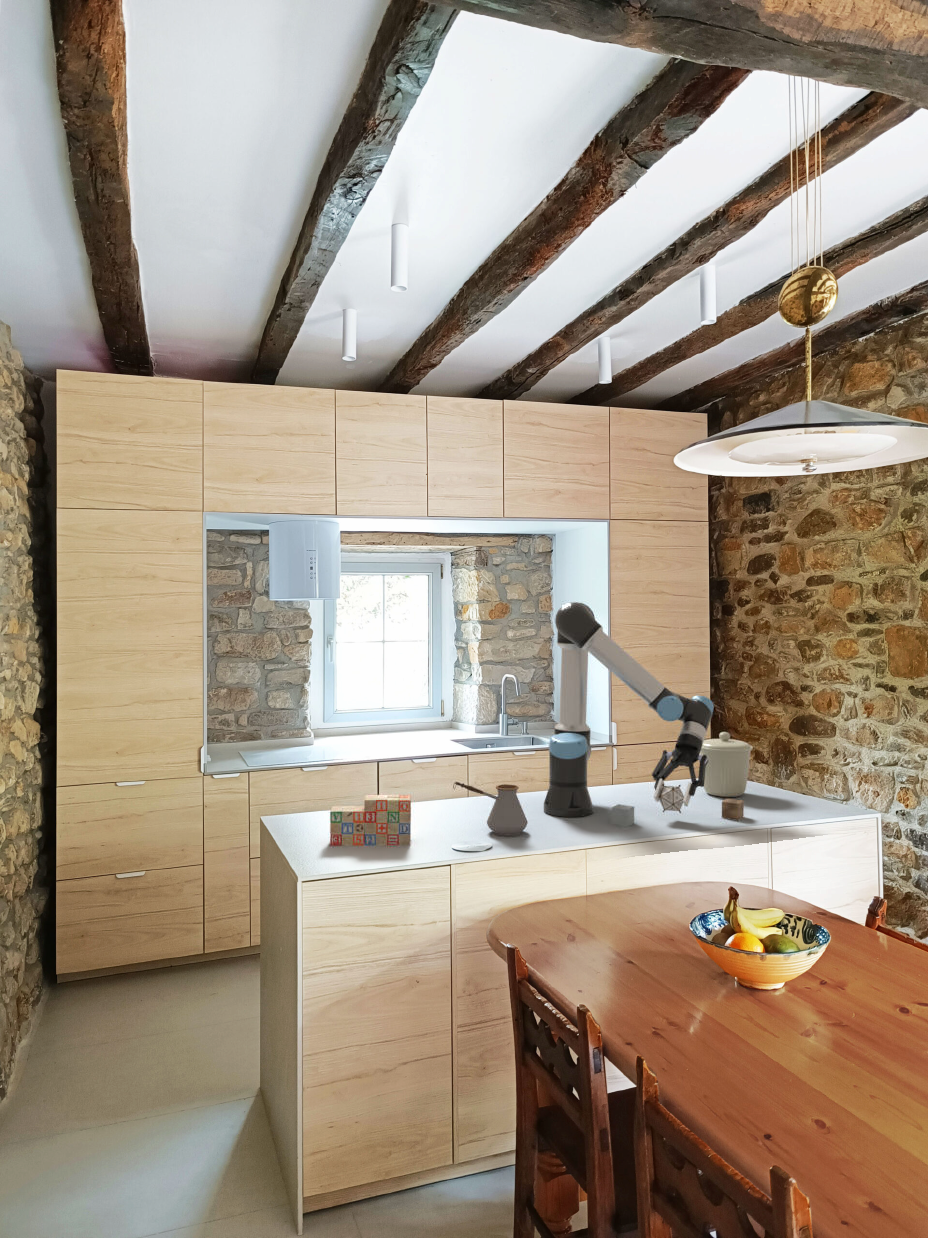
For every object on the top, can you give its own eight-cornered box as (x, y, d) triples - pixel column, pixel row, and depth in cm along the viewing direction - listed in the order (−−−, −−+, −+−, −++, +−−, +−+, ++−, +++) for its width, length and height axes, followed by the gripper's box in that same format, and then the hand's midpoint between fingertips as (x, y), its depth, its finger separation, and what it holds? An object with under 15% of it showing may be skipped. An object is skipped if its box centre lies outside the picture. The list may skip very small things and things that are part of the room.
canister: (763, 798, 278) (763, 735, 278) (714, 801, 274) (714, 737, 274) (733, 787, 296) (734, 727, 296) (686, 790, 292) (687, 729, 291)
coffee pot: (520, 826, 243) (520, 774, 243) (533, 836, 232) (533, 782, 232) (448, 830, 238) (448, 777, 238) (458, 841, 227) (458, 786, 227)
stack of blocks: (329, 846, 223) (329, 800, 223) (332, 840, 229) (332, 794, 229) (410, 845, 223) (410, 799, 223) (411, 839, 230) (411, 794, 230)
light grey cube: (611, 824, 245) (611, 807, 245) (618, 821, 249) (618, 804, 249) (627, 827, 242) (627, 809, 242) (634, 823, 246) (634, 806, 246)
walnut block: (721, 818, 253) (721, 801, 253) (726, 814, 257) (726, 798, 257) (738, 820, 250) (738, 803, 250) (743, 817, 254) (743, 800, 254)
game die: (674, 823, 251) (691, 795, 253) (678, 819, 243) (695, 791, 246) (648, 805, 254) (665, 778, 256) (651, 802, 246) (668, 773, 248)
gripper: (727, 751, 256) (708, 814, 243) (661, 743, 268) (640, 803, 255) (722, 736, 251) (702, 799, 238) (655, 729, 263) (633, 789, 250)
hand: (670, 801), depth 247 cm, fingers closed on game die, 8 cm apart
